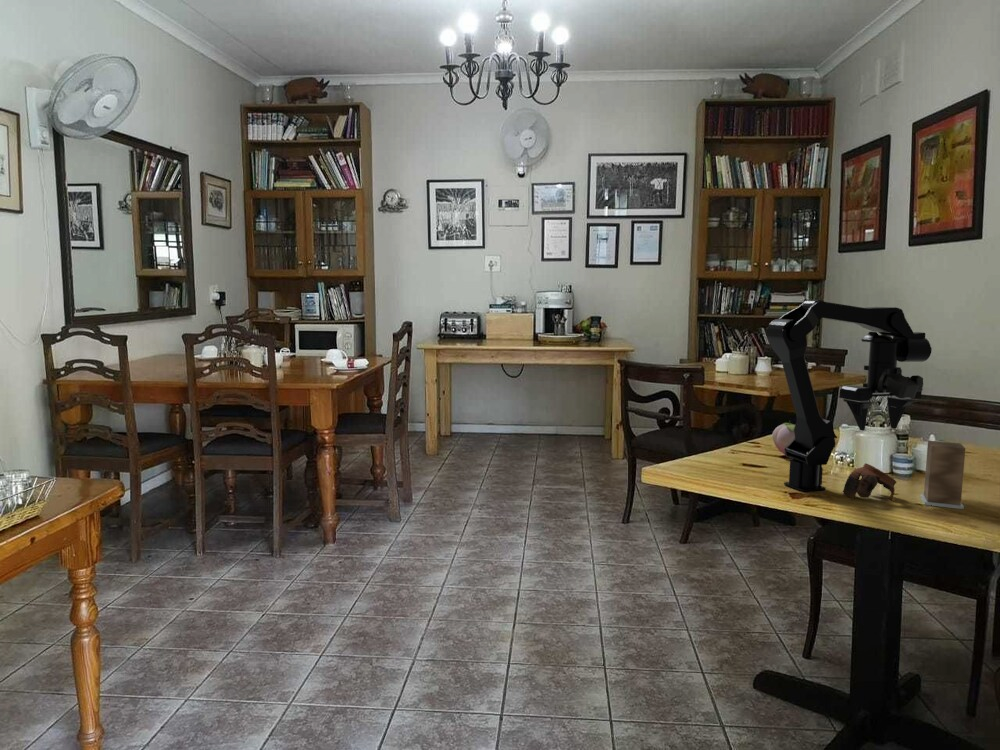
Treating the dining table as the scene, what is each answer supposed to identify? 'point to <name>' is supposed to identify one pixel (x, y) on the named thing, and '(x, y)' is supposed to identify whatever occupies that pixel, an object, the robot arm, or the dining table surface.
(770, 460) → the dining table surface
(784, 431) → the decorative fruit
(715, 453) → the dining table surface
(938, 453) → the walnut block
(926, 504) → the slate-blue tile
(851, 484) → the brown curved piece
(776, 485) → the dining table surface
